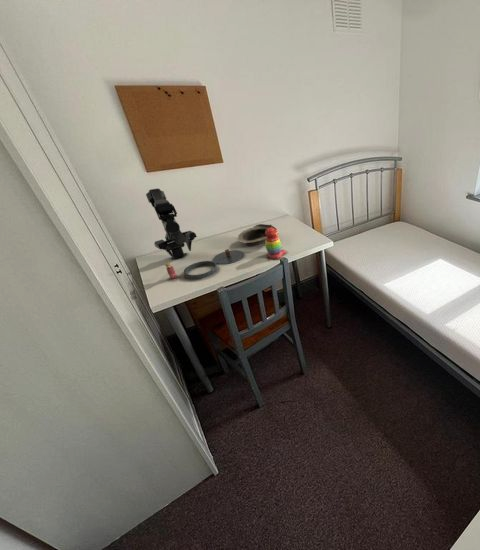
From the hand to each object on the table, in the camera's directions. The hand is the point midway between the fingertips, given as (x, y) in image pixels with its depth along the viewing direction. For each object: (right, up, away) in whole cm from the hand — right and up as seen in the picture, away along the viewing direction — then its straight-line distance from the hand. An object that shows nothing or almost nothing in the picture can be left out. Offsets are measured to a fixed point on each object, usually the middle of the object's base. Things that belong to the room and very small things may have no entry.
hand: (181, 253), depth 157 cm
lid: (+16, -1, +21) cm, 26 cm away
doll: (-5, -13, +1) cm, 14 cm away
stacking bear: (+44, +1, +24) cm, 50 cm away
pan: (+7, -10, +7) cm, 14 cm away
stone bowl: (+27, +10, +40) cm, 49 cm away
